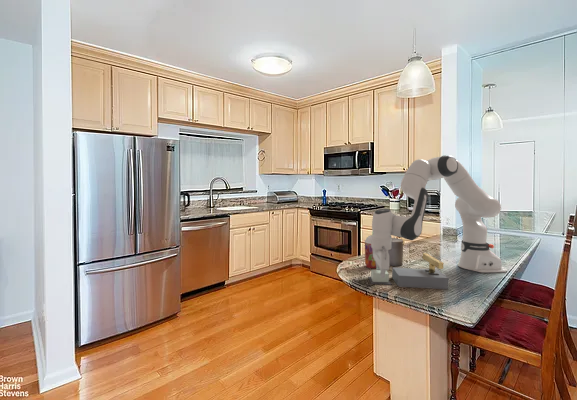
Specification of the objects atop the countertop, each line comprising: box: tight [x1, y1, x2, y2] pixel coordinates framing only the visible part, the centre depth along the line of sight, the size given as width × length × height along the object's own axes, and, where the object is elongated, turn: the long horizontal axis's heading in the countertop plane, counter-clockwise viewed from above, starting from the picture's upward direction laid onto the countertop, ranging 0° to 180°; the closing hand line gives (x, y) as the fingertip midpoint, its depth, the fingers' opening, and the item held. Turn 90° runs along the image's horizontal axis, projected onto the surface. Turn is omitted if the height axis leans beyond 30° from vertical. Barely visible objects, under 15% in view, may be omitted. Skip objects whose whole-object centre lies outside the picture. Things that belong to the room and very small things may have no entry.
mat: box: [367, 276, 392, 286], centre depth 140 cm, size 9×9×1 cm
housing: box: [391, 266, 450, 290], centre depth 138 cm, size 21×12×6 cm, turn 84°
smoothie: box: [364, 231, 376, 269], centre depth 161 cm, size 8×8×20 cm
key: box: [422, 253, 444, 273], centre depth 137 cm, size 16×2×7 cm, turn 179°
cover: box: [370, 269, 390, 283], centre depth 140 cm, size 7×5×4 cm
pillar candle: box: [388, 236, 404, 267], centre depth 168 cm, size 10×10×15 cm
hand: (380, 273), depth 140 cm, fingers open, 8 cm apart
